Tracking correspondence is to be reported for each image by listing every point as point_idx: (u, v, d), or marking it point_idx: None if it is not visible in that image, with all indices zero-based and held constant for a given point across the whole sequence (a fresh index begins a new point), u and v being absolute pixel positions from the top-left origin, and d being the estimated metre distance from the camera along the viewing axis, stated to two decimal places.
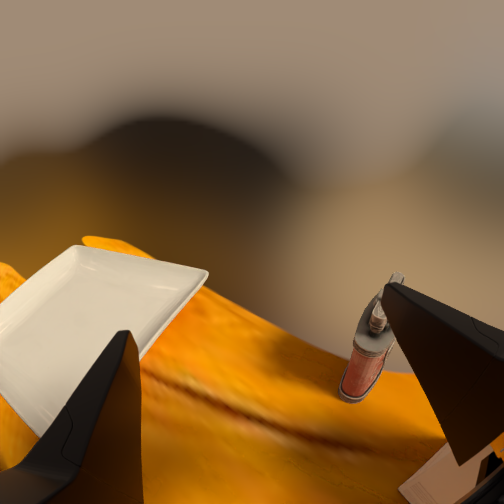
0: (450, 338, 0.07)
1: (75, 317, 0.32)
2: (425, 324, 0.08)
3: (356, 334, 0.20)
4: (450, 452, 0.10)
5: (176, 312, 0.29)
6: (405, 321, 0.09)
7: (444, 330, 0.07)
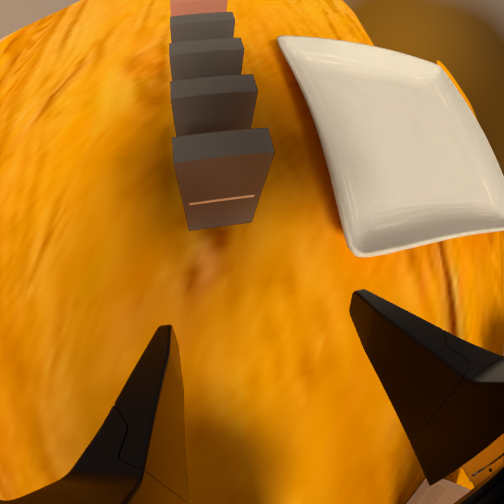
0: (417, 353, 0.07)
1: (415, 126, 0.29)
2: (392, 336, 0.08)
3: None
4: None
5: (492, 230, 0.24)
6: (372, 332, 0.09)
7: (411, 343, 0.07)
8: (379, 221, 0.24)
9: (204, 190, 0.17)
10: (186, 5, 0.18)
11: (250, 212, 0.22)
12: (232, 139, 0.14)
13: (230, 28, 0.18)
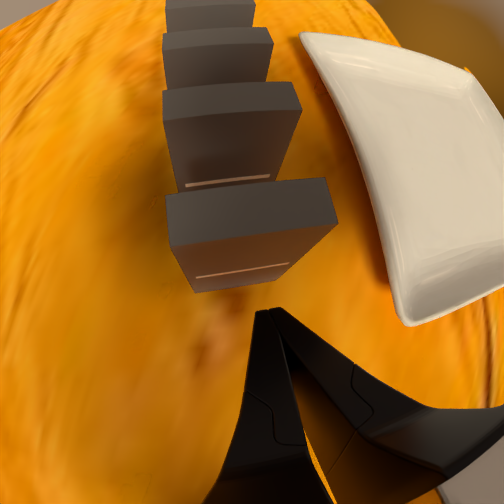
0: (315, 389, 0.06)
1: (455, 147, 0.24)
2: (295, 365, 0.07)
3: None
4: None
5: None
6: None
7: (312, 376, 0.07)
8: (426, 272, 0.19)
9: (219, 266, 0.11)
10: None
11: (277, 274, 0.16)
12: (268, 200, 0.09)
13: (248, 16, 0.13)
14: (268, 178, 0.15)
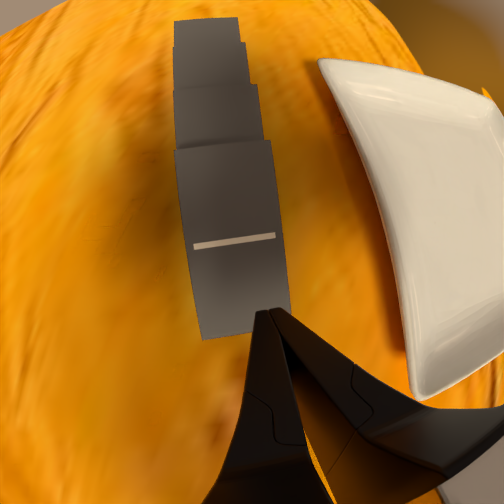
0: (315, 389, 0.06)
1: (476, 190, 0.22)
2: (295, 364, 0.07)
3: None
4: None
5: None
6: None
7: (312, 375, 0.07)
8: (441, 337, 0.18)
9: (209, 212, 0.15)
10: None
11: (282, 289, 0.16)
12: None
13: (234, 25, 0.18)
14: None
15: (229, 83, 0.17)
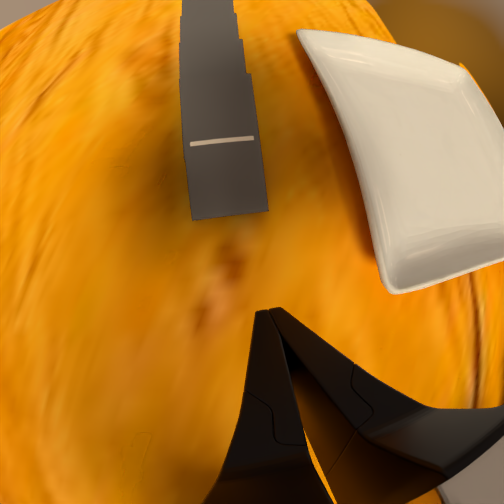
0: (315, 389, 0.06)
1: (444, 136, 0.25)
2: (295, 364, 0.07)
3: None
4: None
5: None
6: None
7: (312, 376, 0.07)
8: (412, 248, 0.21)
9: (203, 119, 0.18)
10: None
11: (259, 180, 0.19)
12: None
13: (230, 2, 0.21)
14: None
15: None
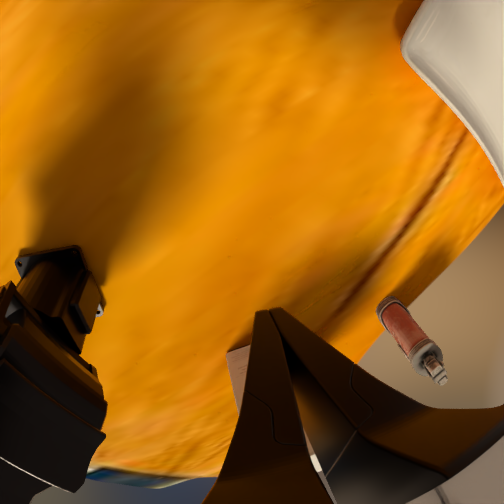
0: (315, 389, 0.06)
1: None
2: (295, 364, 0.07)
3: (432, 344, 0.23)
4: None
5: None
6: None
7: (312, 376, 0.07)
8: (434, 65, 0.16)
9: None
10: None
11: None
12: None
13: None
14: None
15: None
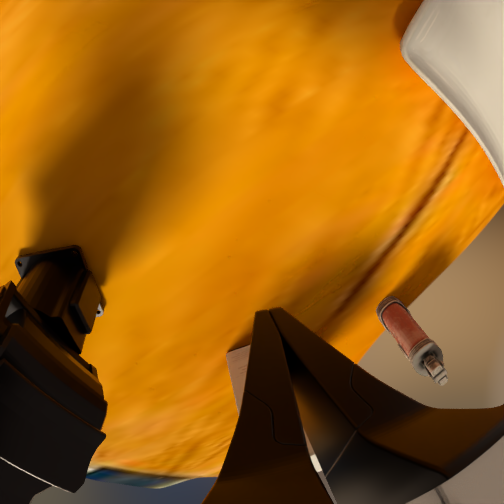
0: (315, 389, 0.06)
1: None
2: (295, 364, 0.07)
3: (432, 344, 0.23)
4: None
5: None
6: None
7: (312, 376, 0.07)
8: (434, 64, 0.16)
9: None
10: None
11: None
12: None
13: None
14: None
15: None
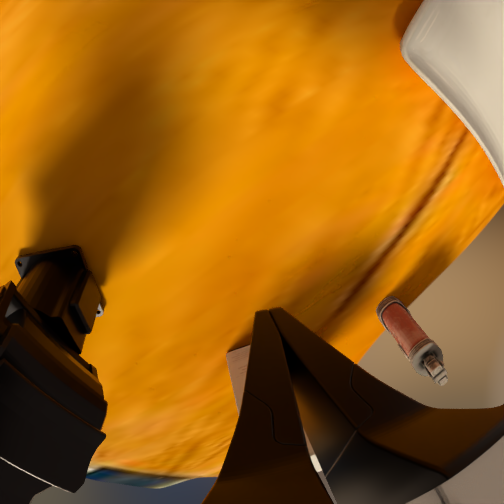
0: (315, 389, 0.06)
1: None
2: (295, 364, 0.07)
3: (432, 344, 0.23)
4: None
5: None
6: None
7: (312, 376, 0.07)
8: (434, 64, 0.16)
9: None
10: None
11: None
12: None
13: None
14: None
15: None
